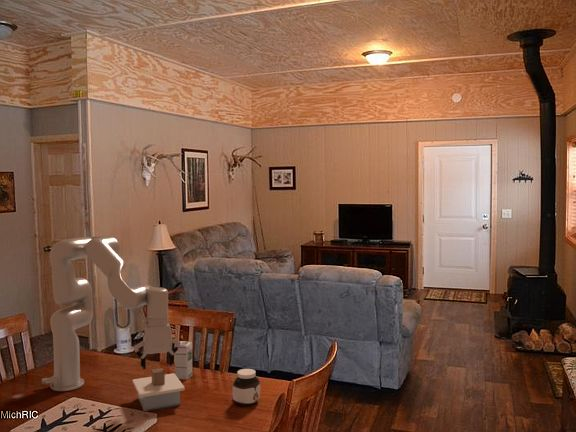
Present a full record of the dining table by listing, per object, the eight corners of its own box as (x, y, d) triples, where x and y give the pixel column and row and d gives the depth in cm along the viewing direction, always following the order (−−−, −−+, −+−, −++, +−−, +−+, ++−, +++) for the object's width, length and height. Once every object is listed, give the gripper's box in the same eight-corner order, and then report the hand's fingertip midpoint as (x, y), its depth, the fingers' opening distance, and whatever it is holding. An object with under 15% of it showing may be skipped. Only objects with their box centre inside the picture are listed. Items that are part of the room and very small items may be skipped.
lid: (140, 397, 186) (140, 381, 186) (132, 382, 200) (132, 366, 200) (184, 390, 193) (184, 374, 192) (174, 375, 207) (174, 360, 207)
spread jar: (243, 409, 191) (243, 378, 190) (223, 400, 199) (223, 370, 198) (266, 399, 200) (266, 369, 199) (246, 391, 207) (246, 362, 207)
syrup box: (187, 379, 219) (187, 345, 218) (174, 378, 220) (174, 344, 219) (193, 374, 225) (192, 341, 224) (180, 373, 226) (179, 340, 225)
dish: (144, 411, 188) (143, 395, 188) (137, 398, 200) (137, 382, 200) (180, 405, 194) (180, 389, 194) (171, 392, 206) (171, 377, 205)
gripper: (135, 326, 188) (134, 373, 189) (183, 321, 195) (182, 366, 197) (131, 320, 195) (131, 366, 196) (178, 316, 202) (177, 360, 203)
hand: (157, 366), depth 196 cm, fingers open, 9 cm apart
